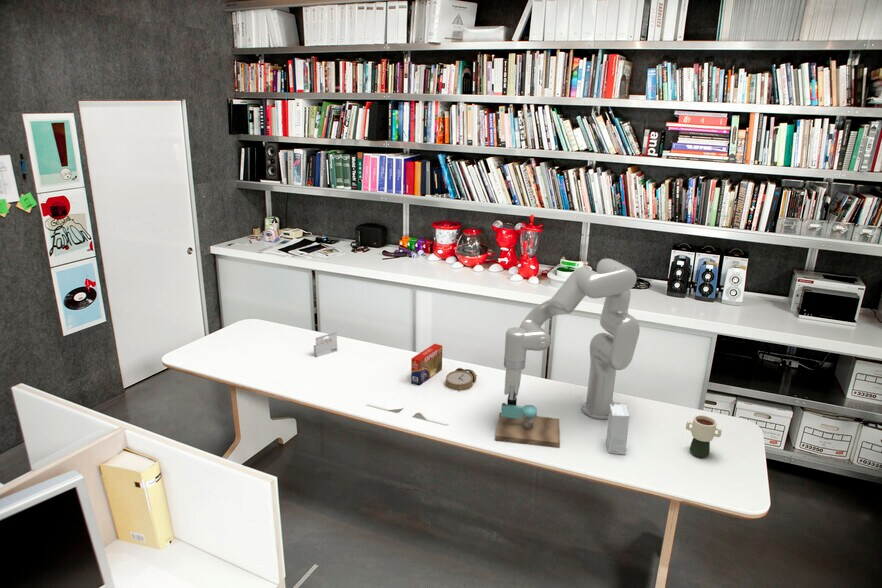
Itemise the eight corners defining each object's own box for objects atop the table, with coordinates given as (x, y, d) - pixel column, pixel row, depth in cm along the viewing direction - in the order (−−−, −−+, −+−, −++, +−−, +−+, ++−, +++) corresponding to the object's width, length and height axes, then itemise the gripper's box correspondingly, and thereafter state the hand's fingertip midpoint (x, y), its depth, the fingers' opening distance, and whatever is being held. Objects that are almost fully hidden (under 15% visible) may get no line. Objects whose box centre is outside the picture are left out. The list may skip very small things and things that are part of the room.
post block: (558, 423, 219) (560, 406, 216) (559, 447, 204) (561, 430, 201) (499, 417, 222) (500, 400, 220) (495, 440, 207) (496, 423, 205)
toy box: (419, 386, 244) (419, 360, 240) (411, 383, 246) (411, 358, 242) (442, 369, 259) (442, 345, 255) (434, 367, 261) (434, 343, 257)
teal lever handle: (536, 417, 213) (537, 405, 211) (535, 424, 208) (536, 412, 207) (502, 412, 216) (503, 400, 214) (500, 419, 211) (500, 407, 210)
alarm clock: (440, 380, 243) (458, 361, 254) (441, 390, 246) (459, 371, 256) (464, 387, 238) (481, 368, 249) (464, 397, 240) (482, 377, 251)
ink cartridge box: (313, 355, 270) (312, 336, 267) (335, 349, 277) (334, 330, 273) (316, 357, 268) (315, 337, 265) (337, 351, 275) (337, 331, 272)
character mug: (716, 452, 203) (723, 419, 198) (715, 463, 197) (722, 429, 192) (682, 443, 207) (688, 411, 203) (680, 454, 201) (686, 421, 197)
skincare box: (625, 455, 200) (631, 416, 195) (607, 453, 201) (612, 415, 196) (622, 441, 208) (627, 404, 203) (604, 439, 209) (609, 402, 204)
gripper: (506, 352, 216) (503, 397, 222) (501, 370, 202) (499, 417, 208) (526, 354, 215) (523, 399, 221) (524, 372, 201) (520, 420, 207)
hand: (511, 407), depth 214 cm, fingers closed
